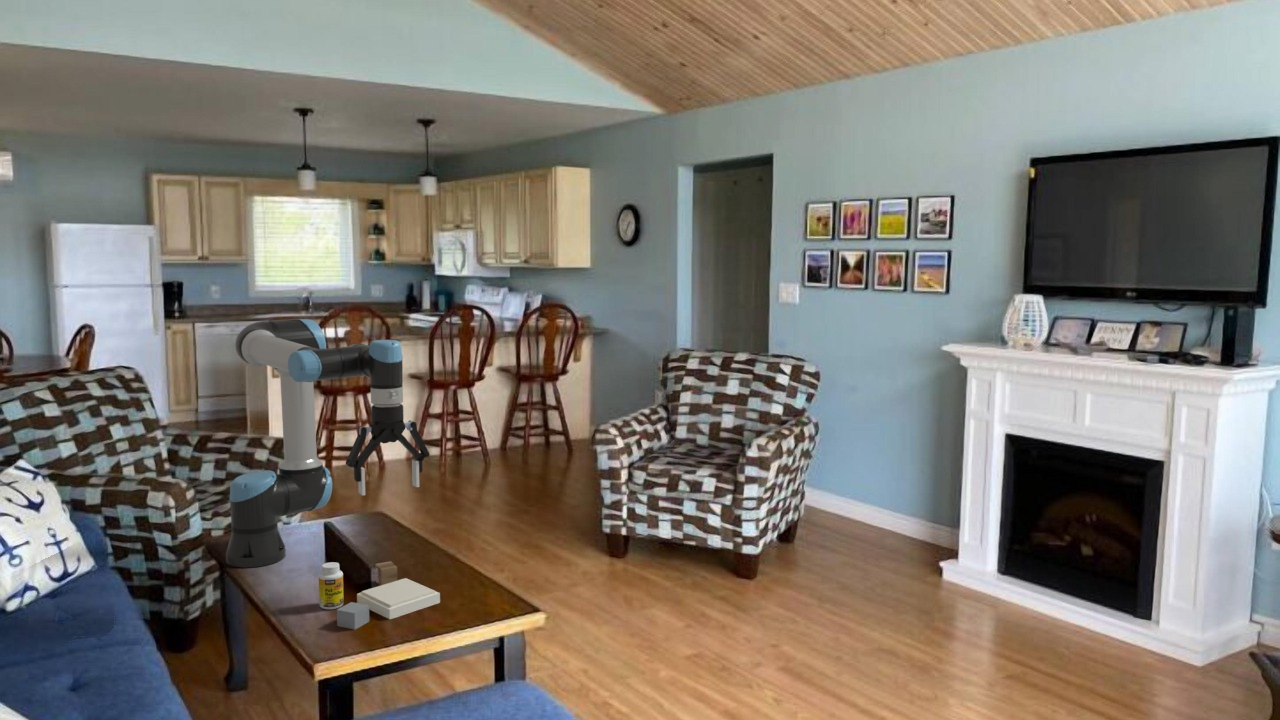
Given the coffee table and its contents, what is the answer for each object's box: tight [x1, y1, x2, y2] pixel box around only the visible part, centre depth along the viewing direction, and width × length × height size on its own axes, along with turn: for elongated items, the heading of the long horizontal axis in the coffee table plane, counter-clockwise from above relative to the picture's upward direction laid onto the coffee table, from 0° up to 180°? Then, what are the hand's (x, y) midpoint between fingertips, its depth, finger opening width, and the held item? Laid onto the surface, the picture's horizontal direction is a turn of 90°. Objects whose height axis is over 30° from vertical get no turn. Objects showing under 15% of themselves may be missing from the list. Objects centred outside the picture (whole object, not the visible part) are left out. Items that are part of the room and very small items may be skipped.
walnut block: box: [375, 560, 398, 586], centre depth 240 cm, size 5×4×5 cm
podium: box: [356, 577, 441, 620], centre depth 227 cm, size 14×14×3 cm
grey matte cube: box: [336, 601, 370, 631], centre depth 215 cm, size 5×5×4 cm
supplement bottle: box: [318, 561, 345, 610], centre depth 225 cm, size 6×6×10 cm
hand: (389, 490), depth 230 cm, fingers open, 13 cm apart
